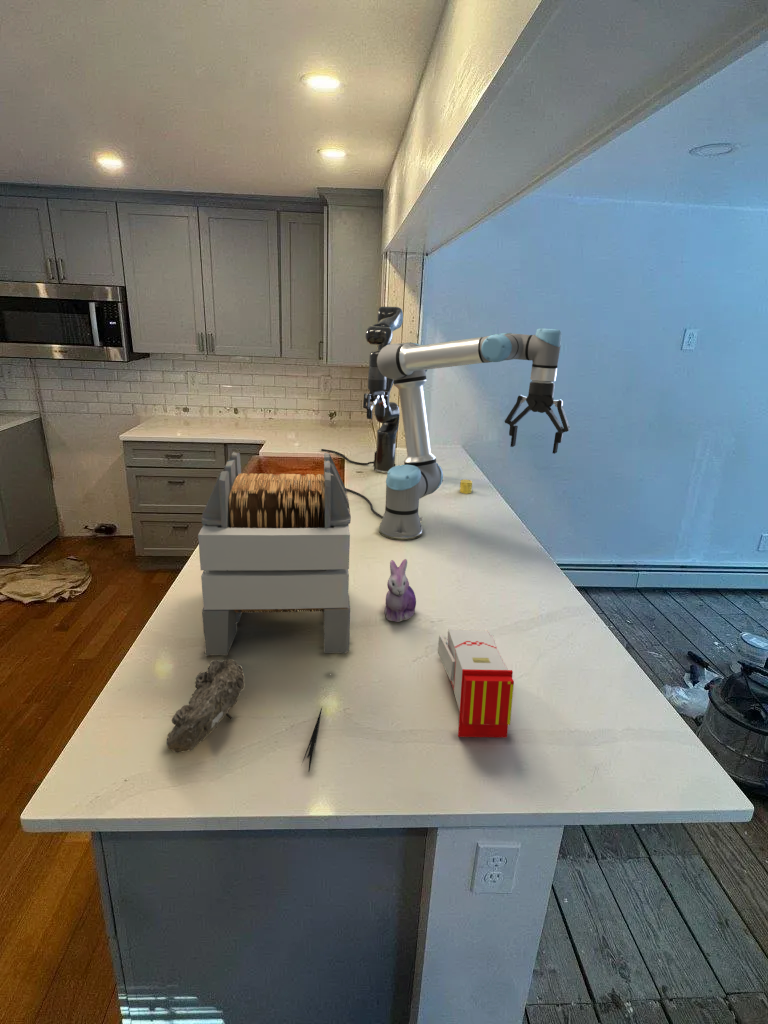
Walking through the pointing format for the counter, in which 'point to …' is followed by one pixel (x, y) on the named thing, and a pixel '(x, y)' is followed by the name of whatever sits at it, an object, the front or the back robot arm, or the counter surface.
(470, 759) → the counter surface
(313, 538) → the record crate
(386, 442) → the back robot arm
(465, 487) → the cylinder
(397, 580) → the figurine
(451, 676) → the toy
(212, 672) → the fossil
